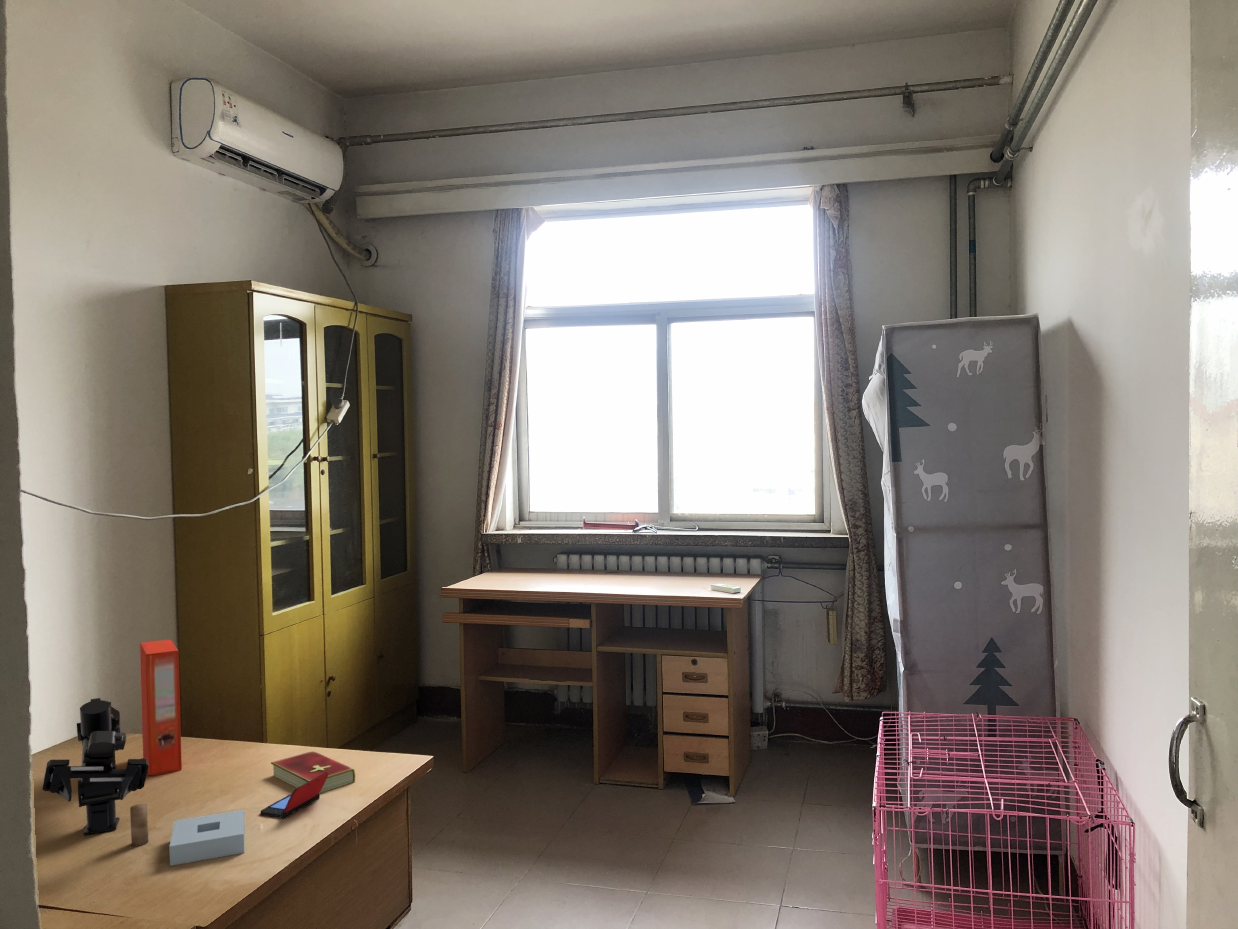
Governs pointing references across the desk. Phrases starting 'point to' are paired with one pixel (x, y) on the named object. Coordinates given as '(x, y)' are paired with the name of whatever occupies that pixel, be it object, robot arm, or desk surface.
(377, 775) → the desk surface
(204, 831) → the socket block
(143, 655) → the file binder
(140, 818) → the peg
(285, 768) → the hardcover book
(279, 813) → the handheld game console
